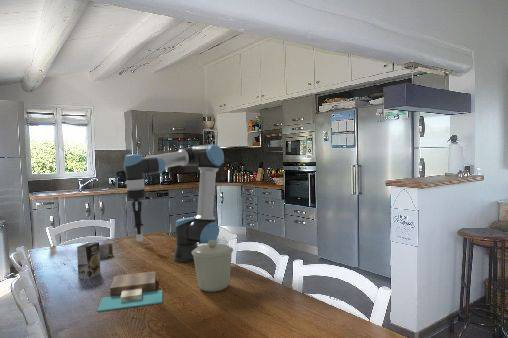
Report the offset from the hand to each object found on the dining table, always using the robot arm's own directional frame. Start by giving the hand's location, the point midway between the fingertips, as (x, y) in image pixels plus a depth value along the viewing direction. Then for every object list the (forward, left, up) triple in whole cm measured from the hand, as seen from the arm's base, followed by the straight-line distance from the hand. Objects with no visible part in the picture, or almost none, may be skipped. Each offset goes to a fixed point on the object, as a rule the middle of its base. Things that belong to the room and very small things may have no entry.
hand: (139, 240), depth 159 cm
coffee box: (+26, -24, -21) cm, 41 cm away
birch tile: (+3, +14, -20) cm, 25 cm away
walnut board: (+3, +1, -21) cm, 21 cm away
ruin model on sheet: (+25, -58, -21) cm, 67 cm away
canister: (-31, +13, -21) cm, 40 cm away
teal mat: (+3, +16, -21) cm, 27 cm away
